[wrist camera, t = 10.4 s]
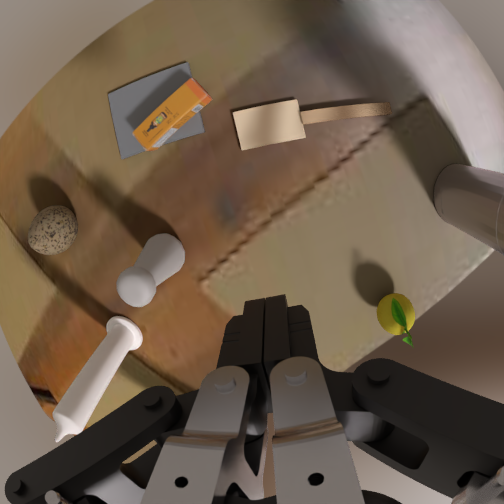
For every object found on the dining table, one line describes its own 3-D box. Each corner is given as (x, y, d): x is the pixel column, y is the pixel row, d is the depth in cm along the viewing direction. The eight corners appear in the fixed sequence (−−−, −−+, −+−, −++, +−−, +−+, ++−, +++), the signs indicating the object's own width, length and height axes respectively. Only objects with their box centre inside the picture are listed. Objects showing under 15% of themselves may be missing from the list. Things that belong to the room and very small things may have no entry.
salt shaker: (145, 235, 39) (98, 272, 26) (180, 223, 38) (141, 259, 26) (160, 271, 41) (122, 320, 28) (195, 262, 40) (165, 311, 28)
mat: (188, 63, 30) (187, 62, 29) (205, 132, 33) (203, 131, 33) (110, 94, 32) (108, 94, 31) (123, 158, 35) (121, 159, 34)
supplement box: (198, 82, 31) (140, 134, 33) (191, 76, 28) (129, 132, 30) (214, 100, 32) (155, 151, 34) (209, 95, 28) (144, 151, 31)
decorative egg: (93, 217, 38) (53, 237, 29) (78, 251, 40) (41, 276, 31) (63, 191, 37) (21, 205, 28) (50, 226, 39) (11, 246, 30)
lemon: (396, 320, 41) (419, 358, 32) (365, 317, 41) (384, 359, 32) (409, 283, 39) (439, 318, 30) (378, 279, 39) (403, 316, 30)
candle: (135, 315, 44) (60, 431, 20) (147, 348, 46) (90, 463, 23) (102, 315, 44) (24, 416, 21) (115, 346, 47) (52, 448, 23)
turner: (383, 91, 30) (386, 89, 29) (391, 126, 31) (394, 126, 31) (233, 112, 32) (232, 112, 31) (242, 150, 34) (241, 150, 33)
